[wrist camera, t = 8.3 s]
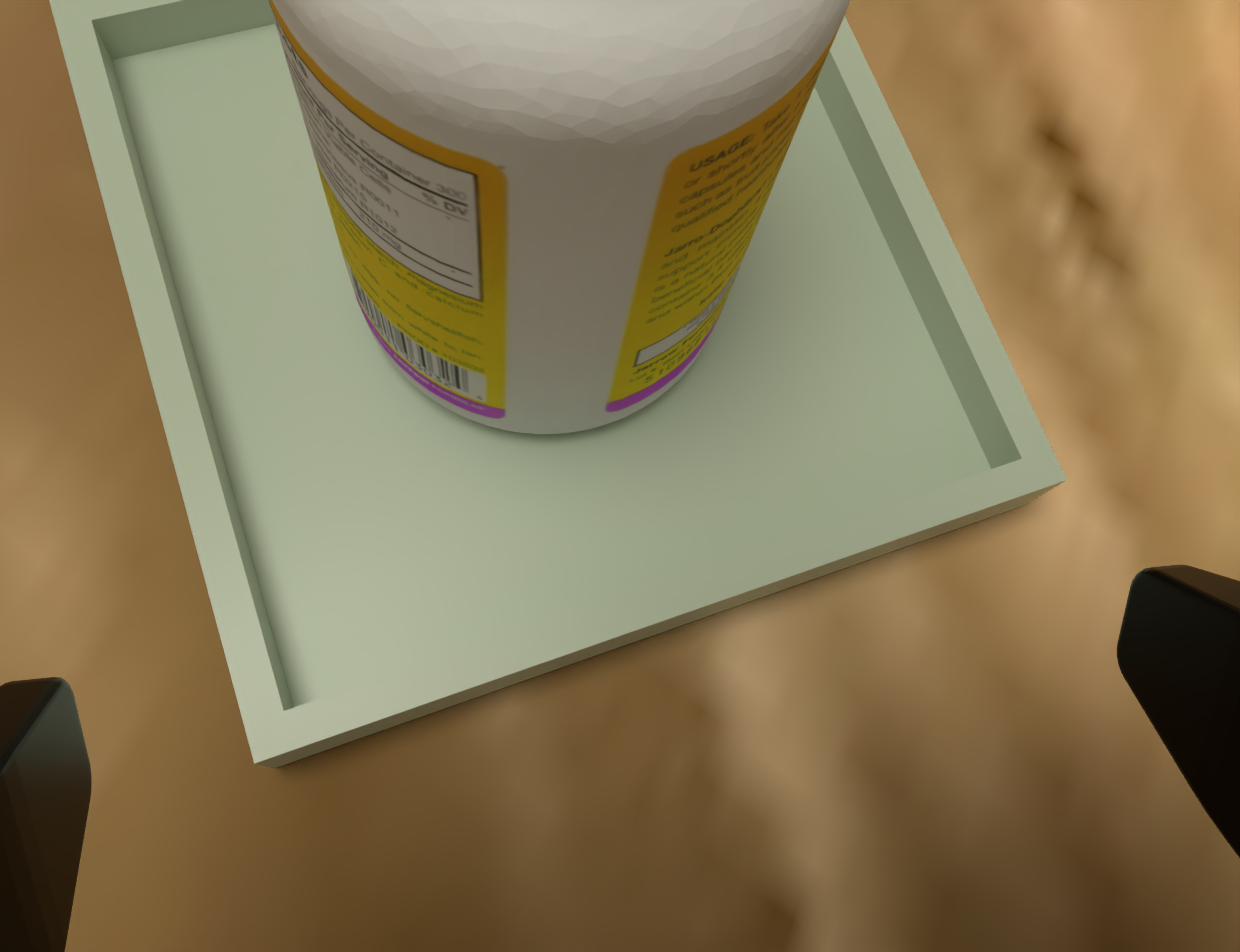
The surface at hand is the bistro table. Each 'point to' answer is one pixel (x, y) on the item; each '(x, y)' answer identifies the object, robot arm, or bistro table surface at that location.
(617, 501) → the tray
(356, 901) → the bistro table surface
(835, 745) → the bistro table surface
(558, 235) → the supplement bottle
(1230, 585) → the robot arm
